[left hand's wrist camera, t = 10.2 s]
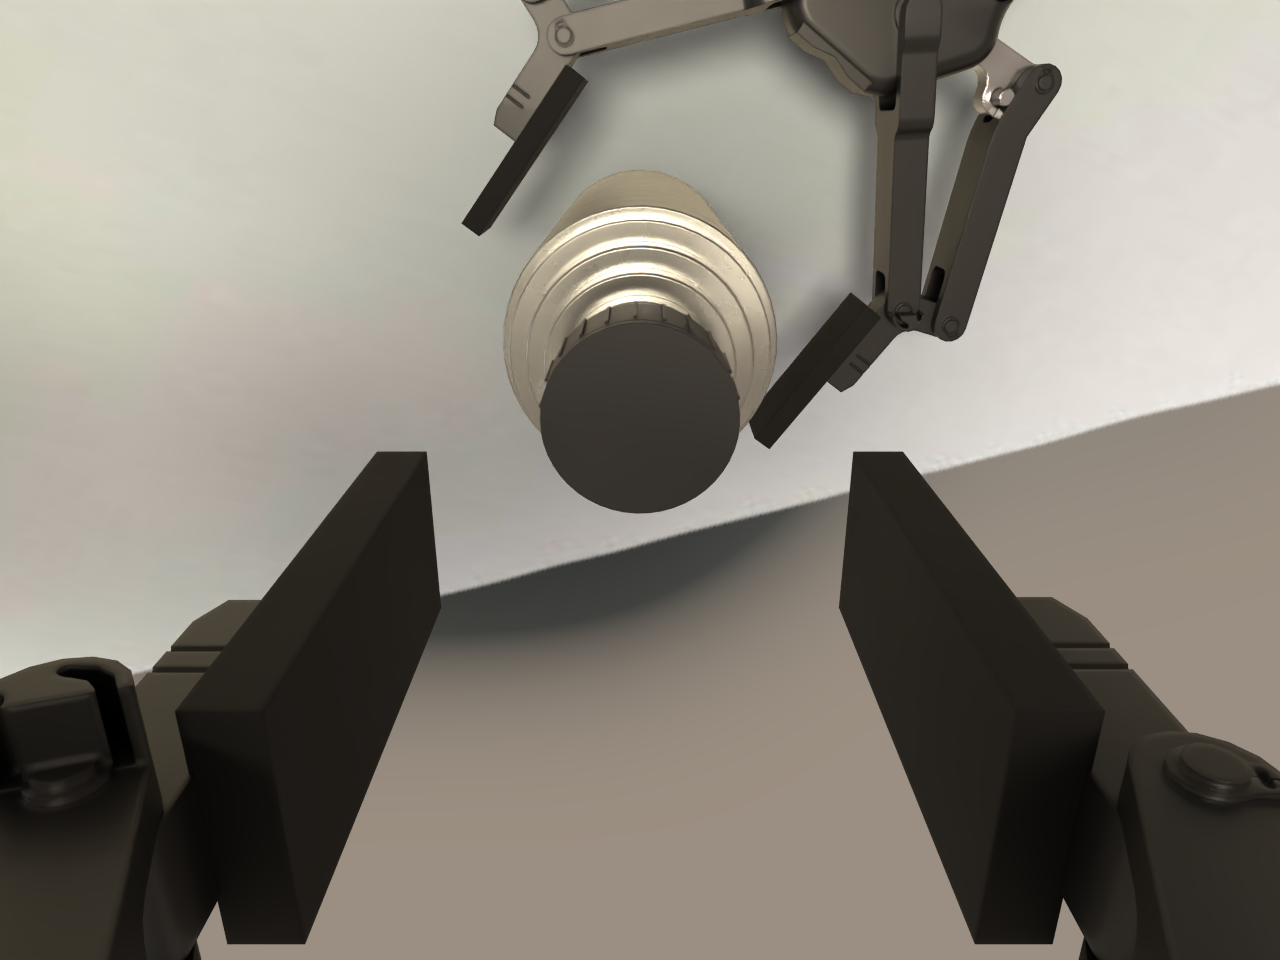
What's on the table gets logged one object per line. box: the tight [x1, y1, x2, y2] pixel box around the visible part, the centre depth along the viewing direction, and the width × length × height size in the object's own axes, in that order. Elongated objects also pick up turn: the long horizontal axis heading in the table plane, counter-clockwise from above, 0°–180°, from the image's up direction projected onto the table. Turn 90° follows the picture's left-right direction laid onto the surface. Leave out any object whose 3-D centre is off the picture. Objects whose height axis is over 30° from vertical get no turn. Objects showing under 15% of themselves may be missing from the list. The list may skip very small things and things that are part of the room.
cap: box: [539, 301, 740, 513], centre depth 21 cm, size 4×4×2 cm
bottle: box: [503, 170, 777, 432], centre depth 31 cm, size 8×8×23 cm
